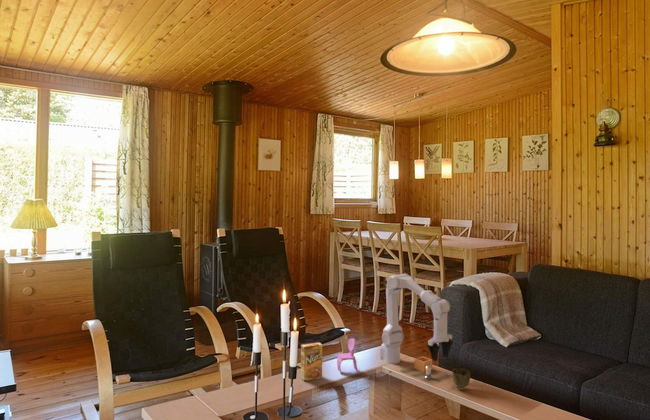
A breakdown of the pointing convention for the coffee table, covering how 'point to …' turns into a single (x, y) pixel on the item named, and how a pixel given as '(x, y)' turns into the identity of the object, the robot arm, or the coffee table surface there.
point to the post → (428, 373)
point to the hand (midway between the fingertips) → (440, 358)
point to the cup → (461, 378)
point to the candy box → (311, 361)
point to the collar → (422, 363)
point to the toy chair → (348, 355)
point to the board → (435, 374)
